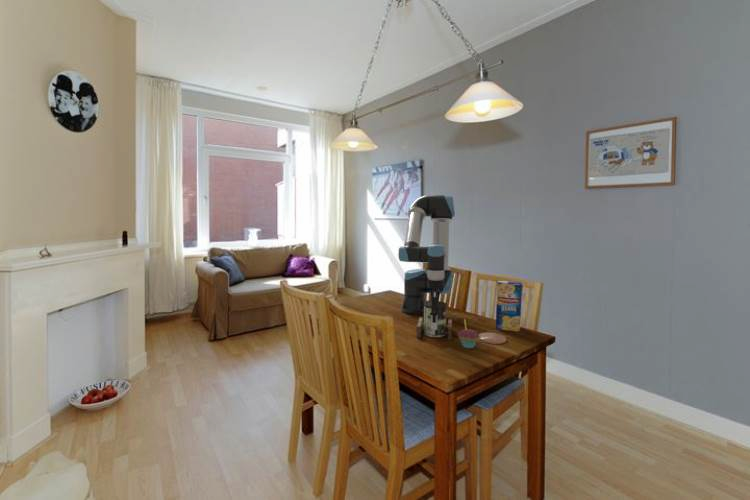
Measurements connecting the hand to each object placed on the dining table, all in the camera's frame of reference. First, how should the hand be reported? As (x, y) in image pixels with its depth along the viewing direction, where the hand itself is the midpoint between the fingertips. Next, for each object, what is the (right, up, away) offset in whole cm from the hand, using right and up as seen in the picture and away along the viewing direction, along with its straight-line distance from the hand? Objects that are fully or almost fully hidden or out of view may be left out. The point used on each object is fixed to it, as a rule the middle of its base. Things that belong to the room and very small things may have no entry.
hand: (434, 324), depth 166 cm
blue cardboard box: (+36, -4, +8) cm, 37 cm away
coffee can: (0, -4, +1) cm, 4 cm away
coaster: (+24, -5, -7) cm, 25 cm away
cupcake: (+12, -6, -15) cm, 20 cm away
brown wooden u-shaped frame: (0, -4, 0) cm, 4 cm away
